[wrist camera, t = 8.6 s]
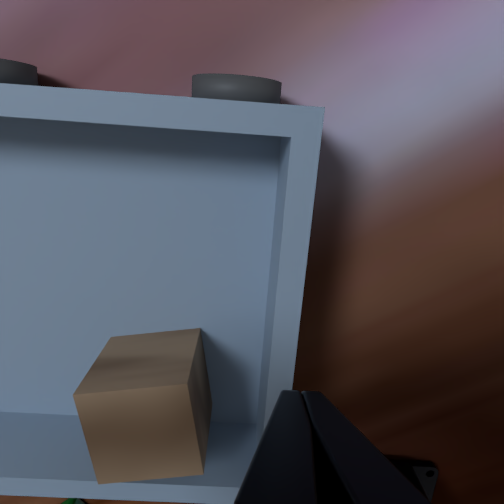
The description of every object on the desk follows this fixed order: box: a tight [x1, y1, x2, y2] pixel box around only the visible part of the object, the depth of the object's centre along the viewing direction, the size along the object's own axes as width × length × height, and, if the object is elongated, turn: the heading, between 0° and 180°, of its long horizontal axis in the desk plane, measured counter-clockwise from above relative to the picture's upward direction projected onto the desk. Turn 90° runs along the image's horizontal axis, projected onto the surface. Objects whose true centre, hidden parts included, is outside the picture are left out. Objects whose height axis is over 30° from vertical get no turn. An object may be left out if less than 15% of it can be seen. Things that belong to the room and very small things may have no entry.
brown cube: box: [73, 328, 213, 484], centre depth 18 cm, size 4×4×4 cm
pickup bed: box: [0, 59, 325, 504], centre depth 18 cm, size 19×16×6 cm
